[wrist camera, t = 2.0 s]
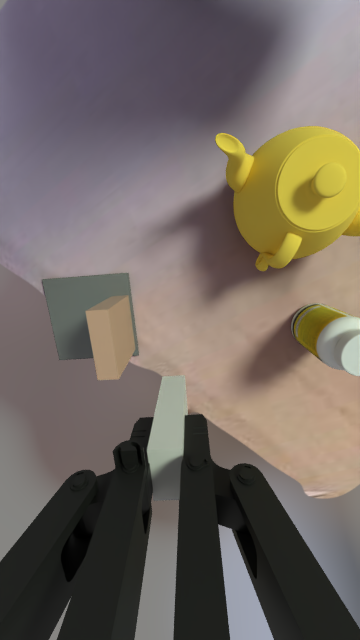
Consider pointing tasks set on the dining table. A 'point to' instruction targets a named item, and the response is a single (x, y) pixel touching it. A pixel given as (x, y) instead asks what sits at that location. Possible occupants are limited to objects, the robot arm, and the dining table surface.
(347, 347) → the pill bottle
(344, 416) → the dining table surface
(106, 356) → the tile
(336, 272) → the dining table surface
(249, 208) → the teapot
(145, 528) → the robot arm
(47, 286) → the mat
